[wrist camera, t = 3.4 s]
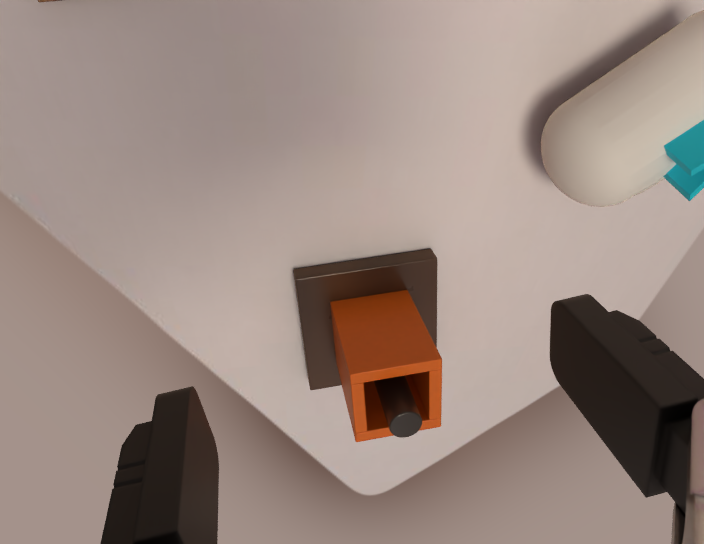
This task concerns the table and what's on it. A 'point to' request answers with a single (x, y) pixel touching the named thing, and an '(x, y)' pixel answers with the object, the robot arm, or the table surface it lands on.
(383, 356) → the orange square tube
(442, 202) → the table surface
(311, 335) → the stake
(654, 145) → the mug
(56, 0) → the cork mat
